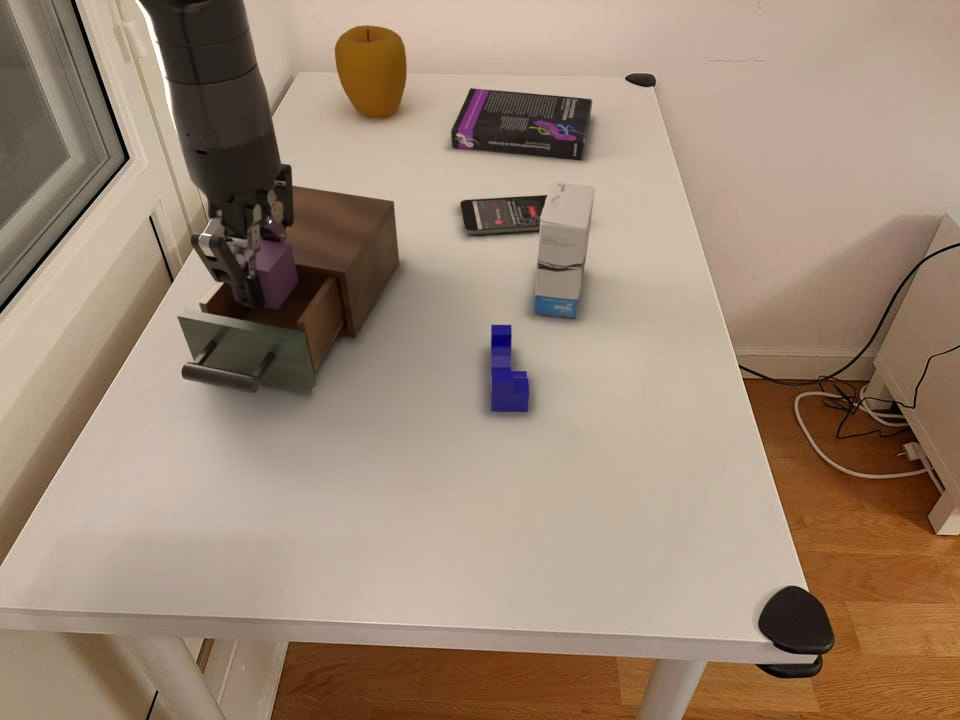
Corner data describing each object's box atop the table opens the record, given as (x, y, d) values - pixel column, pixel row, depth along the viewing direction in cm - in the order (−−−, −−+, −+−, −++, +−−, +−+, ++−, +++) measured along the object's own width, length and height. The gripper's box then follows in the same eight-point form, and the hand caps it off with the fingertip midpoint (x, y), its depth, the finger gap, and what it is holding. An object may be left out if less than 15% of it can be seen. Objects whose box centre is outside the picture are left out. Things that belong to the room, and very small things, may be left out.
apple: (332, 105, 117) (319, 22, 108) (393, 92, 121) (387, 10, 112) (356, 133, 110) (346, 47, 101) (421, 118, 114) (416, 34, 105)
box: (451, 151, 107) (583, 161, 104) (449, 128, 105) (585, 139, 101) (470, 108, 117) (592, 117, 114) (469, 87, 114) (594, 95, 111)
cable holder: (527, 411, 69) (529, 382, 66) (491, 411, 69) (491, 382, 66) (524, 354, 75) (526, 324, 72) (490, 353, 75) (491, 324, 72)
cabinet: (355, 338, 77) (345, 272, 71) (239, 315, 79) (220, 250, 73) (399, 264, 86) (394, 200, 80) (295, 246, 89) (281, 183, 83)
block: (278, 310, 68) (268, 271, 65) (235, 301, 69) (223, 263, 66) (299, 281, 71) (291, 243, 68) (257, 274, 72) (247, 236, 69)
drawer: (288, 429, 66) (274, 377, 62) (168, 402, 69) (146, 350, 64) (360, 312, 78) (353, 260, 74) (256, 292, 81) (243, 241, 76)
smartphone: (584, 223, 91) (465, 231, 90) (583, 228, 91) (465, 236, 90) (572, 193, 96) (459, 200, 95) (571, 198, 97) (459, 204, 95)
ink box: (576, 320, 79) (588, 228, 71) (531, 314, 79) (538, 222, 71) (584, 274, 85) (596, 184, 77) (542, 268, 85) (549, 179, 77)
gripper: (227, 81, 64) (266, 242, 76) (129, 157, 54) (192, 330, 66) (305, 91, 63) (332, 254, 74) (220, 171, 53) (267, 345, 64)
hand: (266, 289), depth 70 cm, fingers closed on block, 4 cm apart
